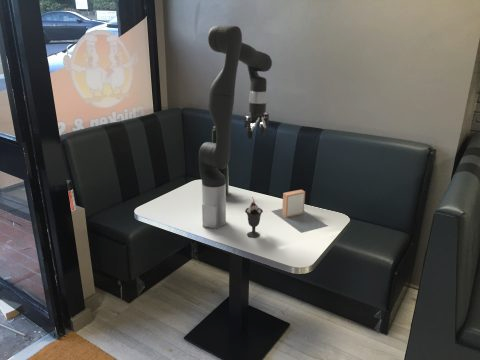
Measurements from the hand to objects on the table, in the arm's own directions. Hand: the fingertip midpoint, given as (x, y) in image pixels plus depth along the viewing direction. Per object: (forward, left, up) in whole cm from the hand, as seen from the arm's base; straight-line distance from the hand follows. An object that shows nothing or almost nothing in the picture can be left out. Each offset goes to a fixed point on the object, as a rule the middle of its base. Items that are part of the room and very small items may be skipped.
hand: (256, 137), depth 180 cm
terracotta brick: (-17, -23, -27) cm, 39 cm away
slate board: (-19, -26, -28) cm, 43 cm away
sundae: (-39, -14, -28) cm, 50 cm away
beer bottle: (-8, +16, -28) cm, 33 cm away
